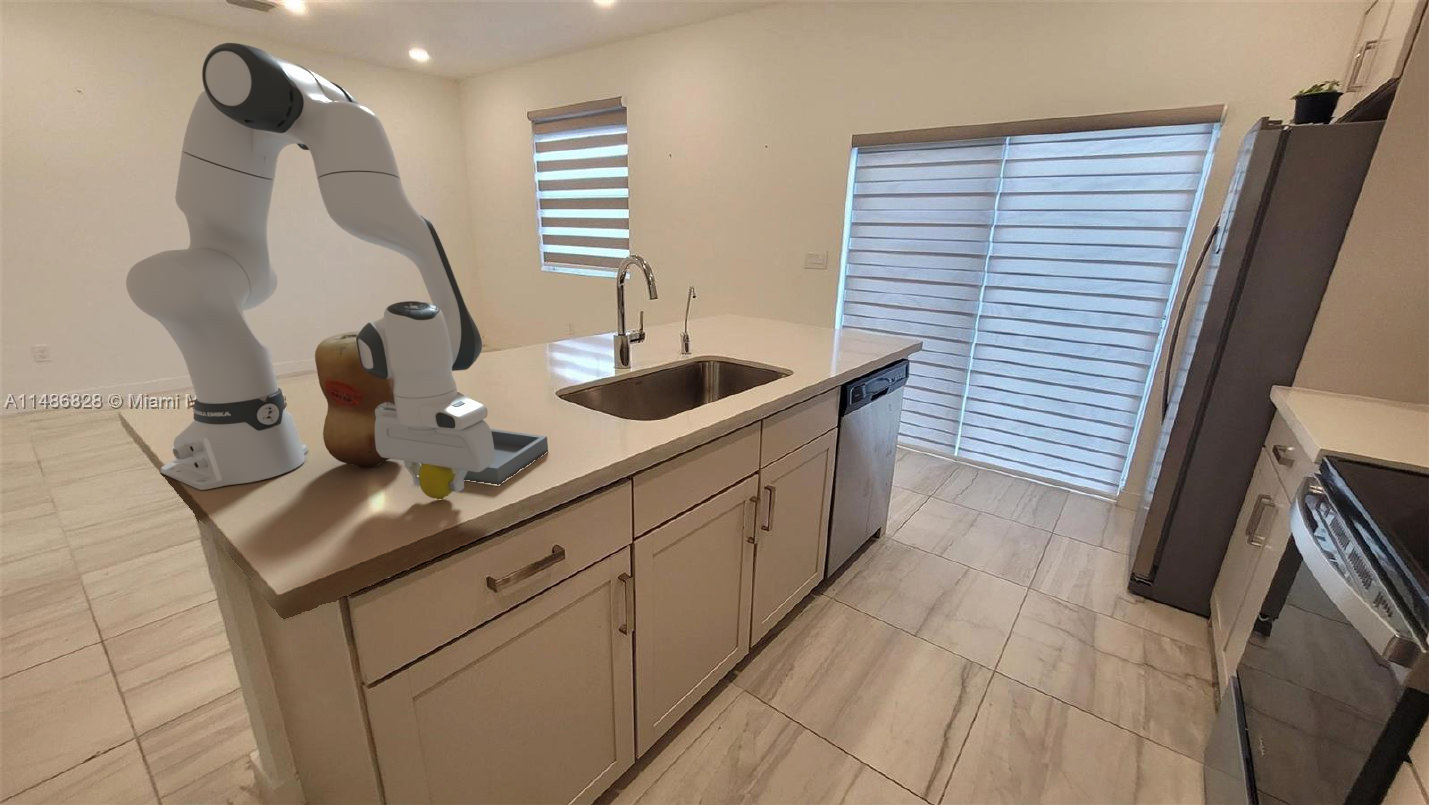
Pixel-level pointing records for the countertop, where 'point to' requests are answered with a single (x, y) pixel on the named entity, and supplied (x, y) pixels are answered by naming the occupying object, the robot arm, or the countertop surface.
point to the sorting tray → (510, 455)
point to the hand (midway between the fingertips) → (439, 487)
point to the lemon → (435, 480)
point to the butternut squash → (350, 401)
